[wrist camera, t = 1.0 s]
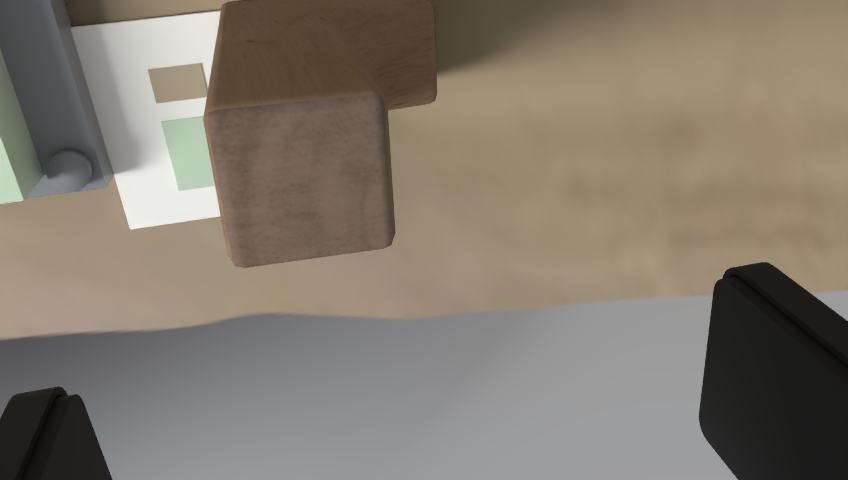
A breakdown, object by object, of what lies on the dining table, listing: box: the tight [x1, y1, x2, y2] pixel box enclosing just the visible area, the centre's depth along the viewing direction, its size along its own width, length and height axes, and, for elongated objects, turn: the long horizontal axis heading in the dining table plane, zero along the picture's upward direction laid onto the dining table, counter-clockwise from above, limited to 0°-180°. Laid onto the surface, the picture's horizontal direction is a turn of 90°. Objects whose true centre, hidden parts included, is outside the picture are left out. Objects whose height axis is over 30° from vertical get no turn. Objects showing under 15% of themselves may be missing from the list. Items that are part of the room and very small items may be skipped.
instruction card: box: [70, 10, 221, 229], centre depth 35 cm, size 8×10×1 cm
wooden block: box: [203, 0, 437, 268], centre depth 27 cm, size 9×4×18 cm, turn 93°
